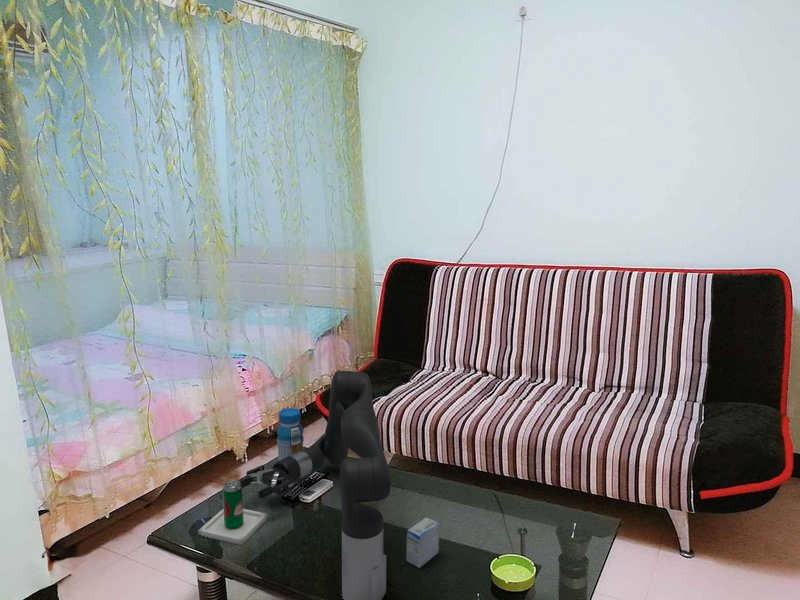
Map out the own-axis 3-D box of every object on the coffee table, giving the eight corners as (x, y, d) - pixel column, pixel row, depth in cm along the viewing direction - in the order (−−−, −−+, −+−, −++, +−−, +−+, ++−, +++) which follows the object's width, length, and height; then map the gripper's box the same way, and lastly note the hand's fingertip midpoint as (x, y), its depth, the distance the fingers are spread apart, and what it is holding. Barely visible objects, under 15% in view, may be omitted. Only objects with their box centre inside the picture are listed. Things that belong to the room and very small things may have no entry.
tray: (267, 518, 166) (267, 513, 166) (241, 545, 154) (241, 540, 154) (227, 510, 170) (226, 505, 170) (198, 535, 158) (198, 530, 158)
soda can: (238, 530, 159) (236, 489, 157) (221, 528, 160) (218, 487, 158) (247, 520, 164) (245, 480, 162) (229, 518, 165) (227, 478, 163)
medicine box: (425, 546, 154) (425, 516, 153) (439, 553, 152) (439, 522, 150) (405, 561, 148) (406, 530, 147) (420, 569, 146) (420, 536, 144)
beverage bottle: (275, 475, 190) (273, 416, 186) (281, 463, 198) (279, 406, 194) (301, 476, 190) (300, 417, 186) (306, 463, 198) (305, 406, 194)
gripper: (276, 449, 181) (232, 469, 168) (309, 463, 172) (265, 486, 160) (277, 472, 182) (233, 494, 170) (310, 487, 174) (266, 511, 161)
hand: (248, 490), depth 165 cm, fingers open, 8 cm apart
